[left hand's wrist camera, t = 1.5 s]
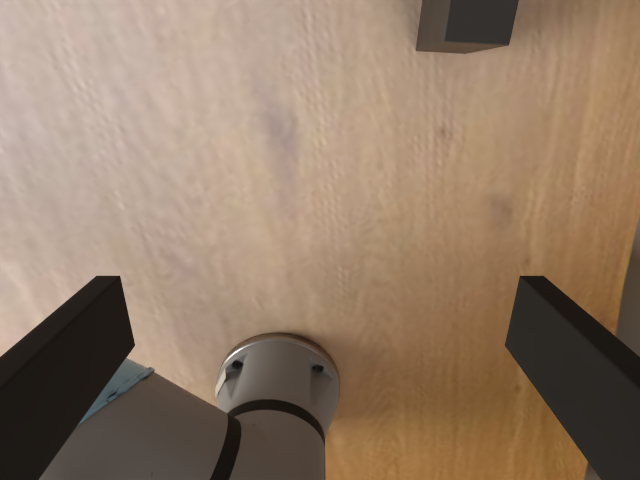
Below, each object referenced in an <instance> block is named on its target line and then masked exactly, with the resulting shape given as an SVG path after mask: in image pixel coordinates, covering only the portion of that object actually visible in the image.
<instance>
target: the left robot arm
mask: <svg viewBox="0 0 640 480" xmlns="http://www.w3.org/2000/svg"><path fill="white" fill-rule="evenodd" d="M134 346H135V343H134V338H133V334H132V329H131V325H130V320H129V315H128V311H127V306H126V302H125V297H124V292H123V288H122V283H121V278H120V276H96V277H95V278H94V279H92V280H91V281H90V282H89V283H88V284H86V285H85V286H84V287H83V288H82V289H80V290H79V291H78V292H77V293H76V294H75V295H73V296H72V297H71V298H70V299H69V300H67V301H66V302H65V303H64V304H63V305H62V306H60V307H59V308H58V309H57V310H56V311H54V312H53V313H52V314H51V315H50V316H48V317H47V318H46V319H45V320H44V321H43V322H41V323H40V324H39V325H38V326H37V327H35V328H34V329H33V330H32V331H31V332H29V333H28V334H27V335H26V336H25V337H24V338H22V339H21V340H20V341H19V342H18V343H16V344H15V345H14V346H13V347H12V348H10V349H9V350H8V351H7V352H6V353H5V354H3V355H2V356H1V357H0V480H325V437H326V434H327V432H328V429H329V427H330V424H331V421H332V419H333V416H334V414H335V411H336V408H337V405H338V401H339V395H340V382H339V374H338V371H337V368H336V366H335V364H334V362H333V360H332V359H331V358H330V356H329V355H328V354H327V353H326V352H325V351H324V350H323V349H322V348H320V347H319V346H318V345H316V344H314V343H313V342H311V341H309V340H307V339H304V338H302V337H299V336H295V335H290V334H282V333H271V334H263V335H258V336H255V337H252V338H249V339H247V340H245V341H243V342H241V343H240V344H238V345H237V346H236V347H234V348H233V349H232V350H231V351H230V352H229V354H228V355H227V356H226V358H225V360H224V361H223V364H222V366H221V369H220V372H219V375H218V379H217V385H216V387H215V393H216V396H217V407H215V406H213V405H211V404H210V403H208V402H206V401H204V400H202V399H200V398H199V397H197V396H195V395H193V394H191V393H190V392H188V391H186V390H184V389H183V388H181V387H179V386H177V385H176V384H174V383H172V382H170V381H169V380H167V379H165V378H163V377H162V376H160V375H158V374H156V373H155V372H154V371H155V369H153V368H151V367H149V368H146V367H144V366H142V365H140V364H138V363H136V362H134V361H132V360H130V359H128V358H126V357H127V356H128V354H129V353H130V352H131V350H132V349H133V347H134ZM505 346H506V347H507V349H508V350H509V352H510V353H511V354H512V356H513V357H514V359H515V360H516V361H517V363H518V364H519V366H520V367H521V368H522V370H523V371H524V373H525V374H526V375H527V377H528V378H529V380H530V381H531V382H532V384H533V385H534V387H535V388H536V389H537V391H538V392H539V393H540V395H541V396H542V398H543V399H544V400H545V402H546V403H547V405H548V406H549V407H550V409H551V410H552V412H553V413H554V414H555V416H556V417H557V419H558V420H559V421H560V423H561V424H562V426H563V427H564V428H565V430H566V431H567V433H568V434H569V435H570V437H571V438H572V439H573V441H574V442H575V444H576V445H577V446H578V448H579V449H580V451H581V452H582V453H583V455H584V456H585V458H586V459H587V460H588V462H589V463H590V465H591V466H592V467H593V469H594V470H595V471H596V473H597V474H598V476H599V477H600V478H601V480H640V357H639V356H638V355H637V354H635V353H634V352H633V351H632V350H631V349H629V348H628V347H627V346H626V345H625V344H623V343H622V342H621V341H620V340H619V339H618V338H616V337H615V336H614V335H613V334H612V333H611V332H609V331H608V330H607V329H606V328H605V327H603V326H602V325H601V324H600V323H599V322H597V321H596V320H595V319H594V318H593V317H592V316H590V315H589V314H588V313H587V312H586V311H584V310H583V309H582V308H581V307H580V306H578V305H577V304H576V303H575V302H574V301H573V300H571V299H570V298H569V297H568V296H567V295H565V294H564V293H563V292H562V291H561V290H560V289H558V288H557V287H556V286H555V285H554V284H552V283H551V282H550V281H549V280H548V279H546V278H545V277H544V276H520V278H519V283H518V288H517V292H516V297H515V302H514V306H513V311H512V315H511V320H510V325H509V329H508V334H507V338H506V343H505Z"/></svg>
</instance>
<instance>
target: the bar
mask: <svg viewBox="0 0 640 480" xmlns="http://www.w3.org/2000/svg"><path fill="white" fill-rule="evenodd" d="M518 1H519V0H423V1H422V8H421V16H420V23H419V31H418V38H417V46H416V51H427V52H445V53H463V54H466V53H471V52H476V51H481V50H487V49H492V48H497V47H502V46H507V45H509V43H510V38H511V33H512V29H513V24H514V19H515V15H516V10H517V5H518Z"/></svg>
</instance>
